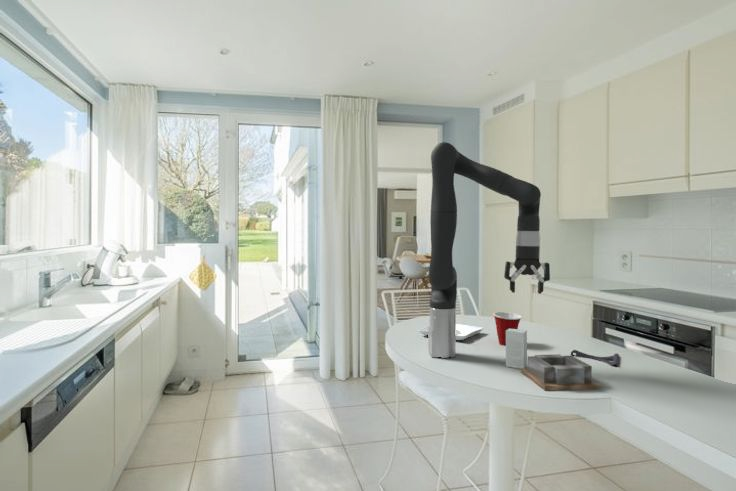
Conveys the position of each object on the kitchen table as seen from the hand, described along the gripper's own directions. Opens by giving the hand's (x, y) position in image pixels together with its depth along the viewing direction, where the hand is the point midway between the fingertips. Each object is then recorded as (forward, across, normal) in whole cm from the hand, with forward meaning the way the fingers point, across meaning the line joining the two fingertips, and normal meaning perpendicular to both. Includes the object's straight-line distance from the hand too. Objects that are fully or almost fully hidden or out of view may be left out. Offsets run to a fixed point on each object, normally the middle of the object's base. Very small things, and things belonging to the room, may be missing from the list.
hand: (526, 292), depth 146 cm
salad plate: (+25, -22, +37) cm, 50 cm away
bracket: (+24, +26, +9) cm, 36 cm away
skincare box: (+24, -4, -5) cm, 25 cm away
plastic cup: (+24, -1, +24) cm, 34 cm away
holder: (+24, +6, -17) cm, 30 cm away
